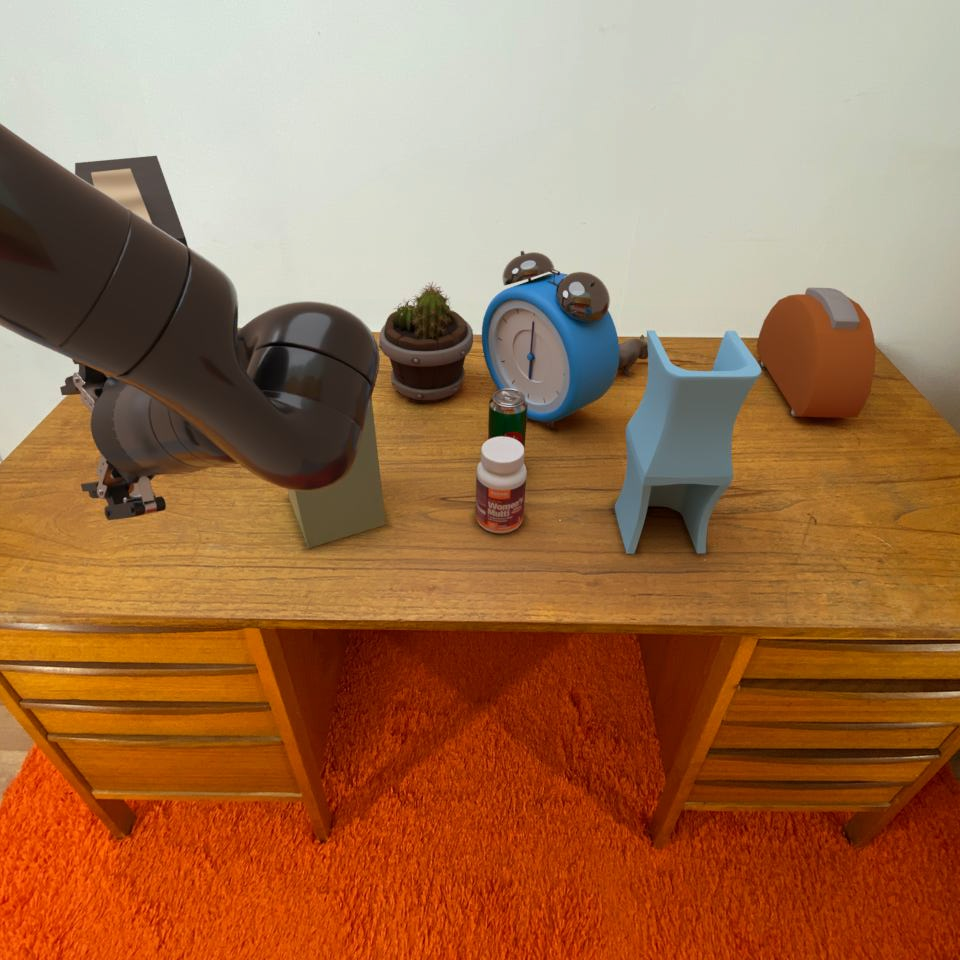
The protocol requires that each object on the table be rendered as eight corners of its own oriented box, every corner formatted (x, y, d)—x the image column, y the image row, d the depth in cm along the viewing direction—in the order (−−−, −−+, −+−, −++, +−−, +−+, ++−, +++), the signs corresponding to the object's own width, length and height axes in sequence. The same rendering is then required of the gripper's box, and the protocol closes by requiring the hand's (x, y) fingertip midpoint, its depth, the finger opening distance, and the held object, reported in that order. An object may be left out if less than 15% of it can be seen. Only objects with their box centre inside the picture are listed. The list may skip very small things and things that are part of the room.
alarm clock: (478, 391, 106) (480, 250, 91) (520, 371, 111) (529, 235, 95) (568, 448, 94) (588, 298, 79) (611, 424, 99) (637, 278, 84)
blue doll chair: (684, 499, 86) (735, 329, 70) (706, 553, 78) (768, 377, 62) (611, 500, 86) (646, 329, 69) (626, 554, 78) (668, 376, 62)
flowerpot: (377, 371, 110) (365, 257, 97) (463, 361, 113) (463, 249, 100) (389, 418, 99) (377, 297, 86) (484, 406, 102) (486, 286, 89)
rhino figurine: (660, 365, 113) (667, 334, 109) (601, 387, 107) (606, 356, 103) (643, 356, 115) (649, 325, 112) (585, 377, 110) (589, 345, 106)
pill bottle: (487, 540, 79) (489, 470, 72) (468, 509, 84) (468, 440, 76) (531, 527, 81) (537, 458, 74) (511, 497, 86) (515, 429, 78)
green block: (386, 524, 81) (370, 383, 68) (308, 548, 78) (274, 404, 64) (362, 478, 88) (343, 341, 75) (289, 499, 85) (255, 359, 71)
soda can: (496, 454, 93) (499, 383, 85) (528, 463, 91) (534, 392, 83) (481, 473, 89) (482, 401, 82) (514, 484, 88) (518, 412, 80)
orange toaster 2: (854, 431, 98) (902, 332, 88) (796, 429, 99) (837, 330, 88) (799, 355, 116) (834, 265, 106) (750, 354, 116) (779, 264, 106)
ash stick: (174, 287, 55) (163, 252, 53) (123, 296, 53) (111, 261, 51) (139, 196, 73) (130, 168, 71) (100, 200, 72) (90, 172, 70)
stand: (257, 492, 86) (185, 237, 64) (178, 513, 82) (73, 252, 60) (219, 372, 109) (156, 155, 87) (156, 385, 106) (74, 162, 84)
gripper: (94, 323, 43) (15, 359, 53) (137, 529, 45) (53, 526, 55) (200, 324, 49) (111, 357, 59) (234, 506, 50) (142, 508, 60)
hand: (83, 438), depth 57 cm, fingers open, 8 cm apart
